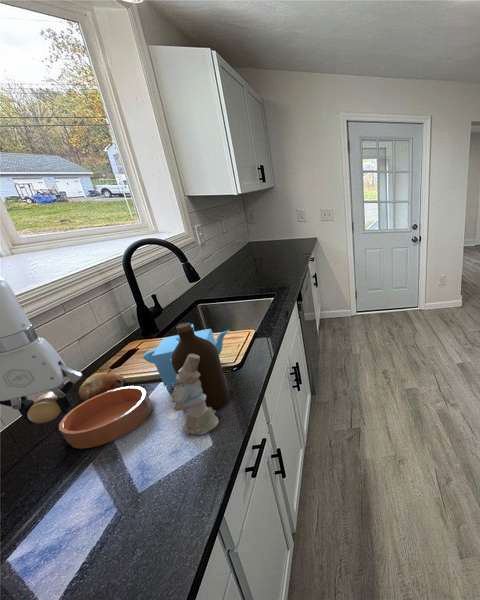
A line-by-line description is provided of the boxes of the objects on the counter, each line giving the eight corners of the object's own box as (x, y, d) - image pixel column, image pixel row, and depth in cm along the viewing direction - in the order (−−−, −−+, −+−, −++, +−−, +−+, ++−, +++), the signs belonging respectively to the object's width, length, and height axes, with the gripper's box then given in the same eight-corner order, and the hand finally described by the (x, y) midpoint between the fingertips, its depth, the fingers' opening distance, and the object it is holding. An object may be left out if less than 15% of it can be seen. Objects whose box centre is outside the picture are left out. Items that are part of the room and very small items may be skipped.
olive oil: (238, 399, 90) (212, 322, 81) (198, 421, 83) (164, 339, 74) (224, 385, 97) (198, 312, 87) (185, 404, 90) (153, 327, 80)
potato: (59, 422, 65) (49, 405, 63) (29, 431, 63) (17, 413, 61) (74, 400, 71) (64, 384, 70) (46, 408, 69) (36, 391, 68)
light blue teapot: (150, 385, 100) (131, 345, 94) (204, 353, 115) (191, 318, 110) (189, 398, 92) (171, 356, 87) (240, 363, 108) (229, 325, 102)
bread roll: (104, 394, 103) (80, 379, 99) (132, 374, 104) (111, 359, 100) (90, 413, 94) (64, 398, 90) (122, 392, 96) (97, 376, 92)
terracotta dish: (55, 460, 74) (45, 444, 72) (82, 414, 89) (74, 400, 87) (146, 429, 82) (138, 415, 80) (157, 392, 96) (151, 378, 94)
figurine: (226, 411, 86) (204, 349, 78) (211, 436, 78) (185, 369, 70) (193, 415, 86) (168, 352, 78) (175, 439, 78) (145, 373, 70)
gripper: (-75, 363, 53) (-15, 442, 61) (58, 336, 61) (97, 410, 68) (-44, 344, 60) (6, 418, 67) (73, 322, 67) (108, 391, 74)
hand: (52, 413), depth 67 cm, fingers closed on potato, 4 cm apart
